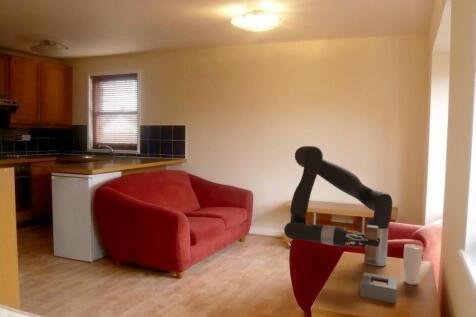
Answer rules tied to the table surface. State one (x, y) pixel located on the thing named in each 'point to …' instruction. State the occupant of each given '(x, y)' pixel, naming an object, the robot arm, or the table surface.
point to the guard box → (379, 287)
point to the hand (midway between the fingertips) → (379, 242)
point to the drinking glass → (412, 263)
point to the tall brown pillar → (371, 250)
